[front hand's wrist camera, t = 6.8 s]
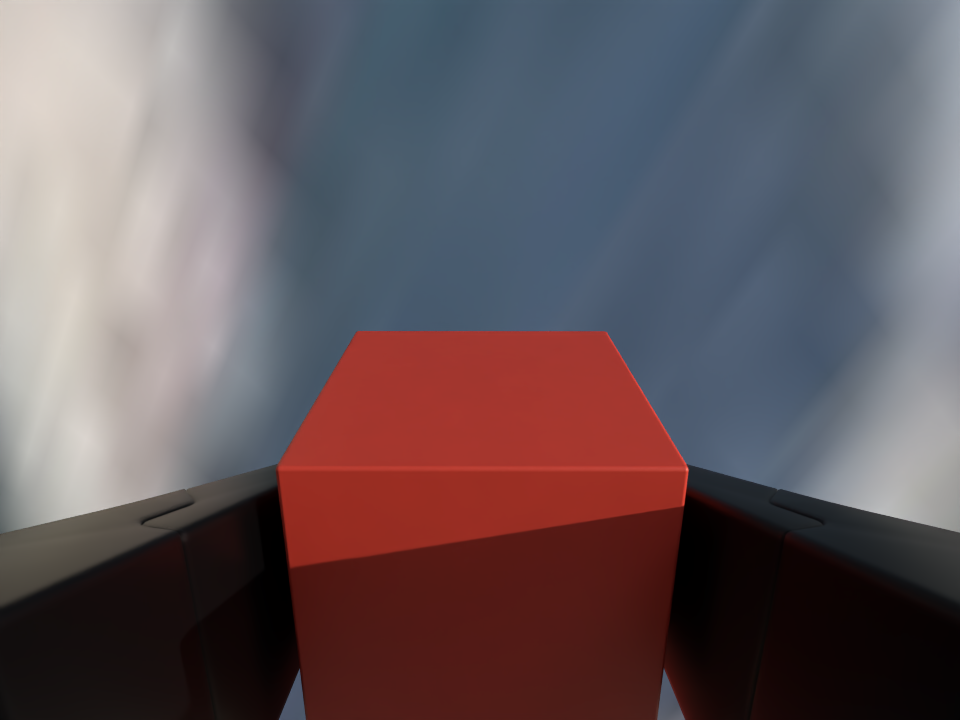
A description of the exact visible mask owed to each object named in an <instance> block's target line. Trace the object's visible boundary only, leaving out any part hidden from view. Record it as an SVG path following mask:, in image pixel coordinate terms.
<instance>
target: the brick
mask: <svg viewBox="0 0 960 720" xmlns="http://www.w3.org/2000/svg"><path fill="white" fill-rule="evenodd" d="M688 471H689V469H688V467H687V465H686V463H685V462H684V460H683V458H682V457H681V455H680V453H679V452H678V450H677V448H676V447H675V445H674V443H673V442H672V440H671V438H670V437H669V435H668V433H667V432H666V430H665V428H664V427H663V425H662V423H661V422H660V420H659V418H658V417H657V415H656V414H655V412H654V410H653V409H652V407H651V405H650V404H649V402H648V400H647V399H646V397H645V395H644V394H643V392H642V390H641V389H640V387H639V385H638V384H637V382H636V380H635V379H634V377H633V375H632V374H631V372H630V370H629V369H628V367H627V365H626V364H625V362H624V360H623V359H622V357H621V355H620V354H619V352H618V350H617V349H616V347H615V346H614V344H613V342H612V341H611V339H610V337H609V336H608V334H607V332H595V331H358V332H356V333H355V335H354V337H353V338H352V340H351V342H350V344H349V345H348V347H347V349H346V350H345V352H344V354H343V355H342V357H341V359H340V360H339V362H338V364H337V365H336V367H335V369H334V371H333V372H332V374H331V376H330V377H329V379H328V381H327V382H326V384H325V386H324V387H323V389H322V391H321V392H320V394H319V396H318V397H317V399H316V401H315V403H314V404H313V406H312V408H311V409H310V411H309V413H308V414H307V416H306V418H305V419H304V421H303V423H302V424H301V426H300V428H299V430H298V431H297V433H296V435H295V436H294V438H293V440H292V441H291V443H290V445H289V446H288V448H287V450H286V451H285V453H284V455H283V456H282V458H281V460H280V462H279V463H278V465H277V467H276V477H277V485H278V494H279V502H280V510H281V518H282V526H283V535H284V543H285V551H286V559H287V567H288V576H289V584H290V592H291V600H292V608H293V617H294V625H295V633H296V641H297V649H298V658H299V666H300V674H301V682H302V690H303V699H304V707H305V715H306V720H657V717H658V709H659V701H660V693H661V685H662V677H663V669H664V661H665V653H666V645H667V637H668V630H669V622H670V614H671V606H672V598H673V590H674V582H675V574H676V566H677V558H678V550H679V542H680V535H681V527H682V519H683V511H684V503H685V495H686V487H687V479H688Z"/></svg>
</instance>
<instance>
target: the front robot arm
mask: <svg viewBox="0 0 960 720" xmlns="http://www.w3.org/2000/svg"><path fill="white" fill-rule="evenodd" d="M277 465H278V464H276V465H272V466H269V467H265V468H261V469H258V470H254V471H251V472H247V473H243V474H240V475H236V476H232V477H229V478H225V479H222V480H218V481H214V482H211V483H207V484H203V485H200V486H196V487H193V488H189V489H187V491H186V490H185V489H182V490H179V491H175V492H171V493H168V494H164V495H160V496H156V497H152V498H149V499H145V500H141V501H137V502H133V503H129V504H125V505H121V506H117V507H113V508H109V509H105V510H101V511H97V512H92V513H88V514H84V515H79V516H75V517H71V518H67V519H62V520H58V521H54V522H50V523H45V524H41V525H37V526H32V527H28V528H24V529H20V530H15V531H11V532H7V533H3V534H0V720H279V718H280V715H281V713H282V710H283V708H284V705H285V703H286V700H287V698H288V696H289V693H290V691H291V688H292V686H293V683H294V681H295V678H296V676H297V673H298V671H299V669H300V666H299V658H298V649H297V641H296V633H295V625H294V617H293V608H292V600H291V592H290V584H289V576H288V567H287V559H286V551H285V543H284V535H283V526H282V518H281V510H280V502H279V494H278V485H277V477H276V467H277ZM686 465H687V467H688V469H689V471H688V479H687V487H686V495H685V503H684V511H683V519H682V527H681V535H680V542H679V550H678V558H677V566H676V574H675V582H674V590H673V598H672V606H671V614H670V622H669V630H668V637H667V645H666V653H665V661H664V669H665V672H666V674H667V677H668V679H669V681H670V684H671V686H672V689H673V691H674V694H675V696H676V698H677V701H678V703H679V706H680V708H681V710H682V713H683V715H684V718H685V720H960V533H959V532H954V531H950V530H946V529H942V528H937V527H933V526H929V525H924V524H920V523H916V522H911V521H907V520H903V519H898V518H894V517H890V516H886V515H881V514H877V513H873V512H868V511H864V510H860V509H856V508H852V507H848V506H844V505H840V504H836V503H831V502H827V501H824V500H820V499H816V498H812V497H808V496H804V495H801V494H797V493H793V492H789V491H786V490H782V489H780V490H777V489H775V488H772V487H768V486H764V485H761V484H757V483H753V482H750V481H746V480H742V479H739V478H735V477H731V476H728V475H724V474H720V473H717V472H713V471H709V470H706V469H702V468H699V467H695V466H691V465H688V464H686Z"/></svg>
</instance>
